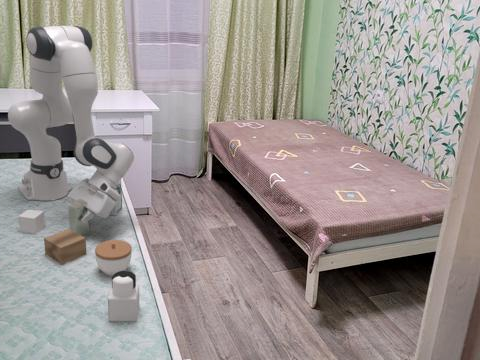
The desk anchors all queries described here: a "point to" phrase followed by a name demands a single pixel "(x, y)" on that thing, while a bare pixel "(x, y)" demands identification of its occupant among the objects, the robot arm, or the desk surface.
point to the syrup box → (118, 204)
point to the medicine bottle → (123, 297)
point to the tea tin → (78, 217)
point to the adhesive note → (31, 221)
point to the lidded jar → (113, 256)
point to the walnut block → (65, 246)
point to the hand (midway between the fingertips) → (77, 218)
